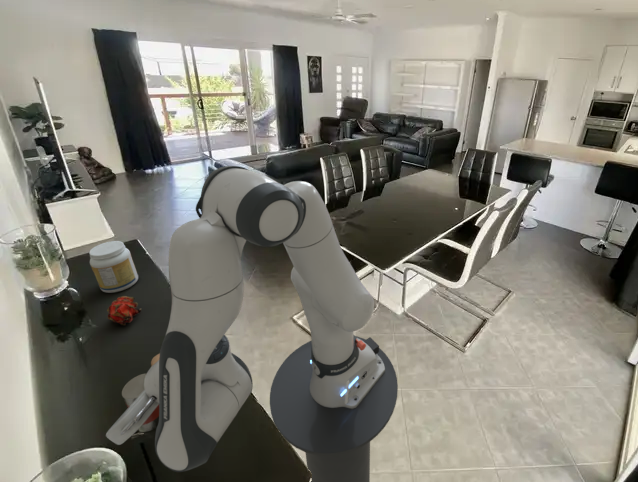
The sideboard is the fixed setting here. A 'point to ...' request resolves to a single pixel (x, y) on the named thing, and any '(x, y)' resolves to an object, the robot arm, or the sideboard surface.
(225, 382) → the robot arm
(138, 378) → the tin
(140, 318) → the sideboard surface
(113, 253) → the supplement tub
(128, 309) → the dragon fruit
